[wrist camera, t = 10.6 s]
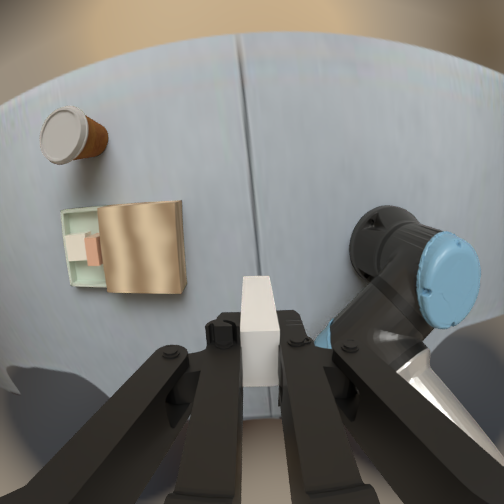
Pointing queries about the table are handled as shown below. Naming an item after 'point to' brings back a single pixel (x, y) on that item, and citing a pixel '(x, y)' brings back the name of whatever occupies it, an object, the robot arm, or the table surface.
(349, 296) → the table surface
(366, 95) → the table surface
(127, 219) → the tan wooden flat block
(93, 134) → the disposable coffee cup
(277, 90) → the table surface
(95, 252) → the terracotta tile
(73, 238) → the cream tile
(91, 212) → the tray
